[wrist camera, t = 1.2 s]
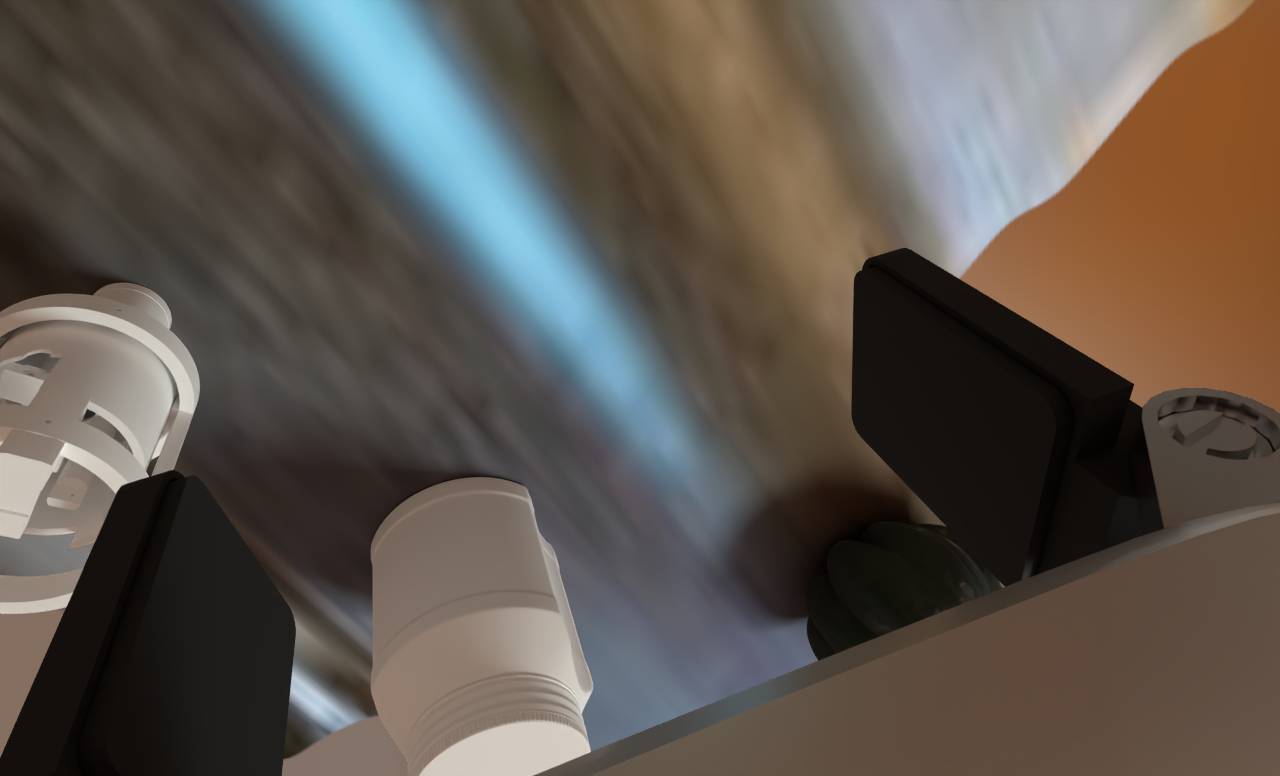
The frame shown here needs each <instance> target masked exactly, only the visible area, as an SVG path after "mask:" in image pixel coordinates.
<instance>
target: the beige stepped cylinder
mask: <svg viewBox="0 0 1280 776" xmlns="http://www.w3.org/2000/svg"><path fill="white" fill-rule="evenodd" d="M171 320H172V319H171V313H170V310H169V308H168V306H167V304H166V303H165V301H164V300H163V299H162V298H161V297H160V296H159V295H157V294H156V293H155V292H153V291H152V290H150V289H148V288H146V287H143V286H140V285H137V284H132V283H114V284H109V285H106V286H104V287H102V288H100V289H99V290H98V291H96V292H95V293H94V295H93V296H92V295H83V294H52V295H44V296H39V297H34V298H30V299H27V300H24V301H21V302H18V303H16V304H14V305H12V306H10V307H8V308H6V309H4V310H3V311H1V312H0V337H1V336H2V335H4V334H6V333H7V332H9V331H11V330H13V329H16V328H18V327H21V326H23V327H21V328H20V329H18V330H17V331H16V332H15V333H14V334H13V335H12V336H11V337H10V338H9V339H8V340H6V339H3V338H0V535H1V536H6V537H11V538H16V539H20V537H21V535H22V533H24V534H33V535H60V534H69V533H75V532H76V534H75V536H74V538H73V540H72V542H71V544H70V546H69V549H68V550H71V549H76V548H79V547H83V546H86V545H88V544H91V543H93V542H95V541H96V539H97V536H98V534H99V532H100V530H101V527H102V525H103V523H104V520H105V518H106V516H107V514H108V511H109V509H110V507H111V505H112V502H113V500H114V498H115V495H116V493H117V491H118V490H119V488H120V487H121V486H122V485H125V484H127V483H130V482H133V481H137V480H140V479H143V478H147V477H149V476H148V474H147V472H146V471H147V468H148V466H149V463H150V461H151V459H154V458H156V457H157V456H159V458H158V460H157V463H156V465H155V468H154V471H153V473H152V476H153V475H156V474H160V473H163V472H166V471H170V470H174V467H175V464H176V461H177V459H178V456H179V453H180V450H181V447H182V444H183V442H184V439H185V436H186V433H187V430H188V428H189V425H190V422H191V419H192V416H193V414H194V411H195V408H196V405H197V402H198V398H199V391H200V383H199V376H198V371H197V368H196V365H195V363H194V361H193V359H192V357H191V355H190V353H189V352H188V350H187V349H186V347H185V346H184V344H183V343H182V342H181V341H180V340H179V339H178V337H177V336H176V335H175V334H174V333H172V332H171V331H170V330H169V329H170V326H171ZM6 341H7V342H6ZM36 353H48V354H50V355H49V357H48V358H47V359H46V361H45V362H44V363H43V365H42V366H41V368H37V367H33V366H30V365H27V364H26V365H25V366H24V365H20V364H17V363H14V361H18V360H23V359H24V358H25V357H27V356H29V355H32V354H36ZM177 387H178V391H179V393H178V394H177ZM176 395H177V396H176ZM83 568H84V567H83ZM83 568H80V569H77V570H73V571H69V572H65V573H60V574H54V575H46V576H28V577H23V576H5V575H0V614H21V613H34V612H43V611H49V610H55V609H60V608H64V607H67V605H68V602H69V600H70V598H71V596H72V593H73V591H74V589H75V587H76V584H77V582H78V580H79V577H80V575H81V573H82V571H83Z"/></svg>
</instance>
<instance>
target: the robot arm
mask: <svg viewBox="0 0 1280 776" xmlns="http://www.w3.org/2000/svg"><path fill="white" fill-rule="evenodd" d="M1133 386H1134V384H1133V383H1131V382H1129V381H1128V380H1126V379H1124V378H1123V377H1121V376H1120V375H1118V374H1116V373H1114V372H1113V371H1111V370H1109V369H1108V368H1106V367H1104V366H1103V365H1101V364H1100V363H1098V362H1096V361H1095V360H1093V359H1091V358H1089V357H1088V356H1086V355H1085V354H1083V353H1081V352H1079V351H1078V350H1076V349H1075V348H1073V347H1071V346H1070V345H1068V344H1066V343H1065V342H1063V341H1061V340H1060V339H1058V338H1056V337H1055V336H1053V335H1051V334H1050V333H1048V332H1046V331H1044V330H1043V329H1041V328H1040V327H1038V326H1036V325H1035V324H1033V323H1031V322H1030V321H1028V320H1026V319H1025V318H1023V317H1021V316H1020V315H1018V314H1016V313H1015V312H1013V311H1011V310H1010V309H1008V308H1006V307H1005V306H1003V305H1002V304H1000V303H998V302H997V301H995V300H993V299H992V298H990V297H988V296H986V295H985V294H983V293H981V292H980V291H978V290H977V289H975V288H973V287H972V286H970V285H968V284H966V283H965V282H963V281H962V280H960V279H958V278H957V277H955V276H953V275H952V274H950V273H948V272H947V271H945V270H943V269H942V268H940V267H938V266H937V265H935V264H933V263H932V262H930V261H928V260H927V259H925V258H923V257H922V256H920V255H918V254H917V253H915V252H913V251H912V250H910V249H907V248H902V249H898V250H894V251H891V252H888V253H885V254H881V255H878V256H875V257H871V258H868V259H867V260H866V261H865V263H864V265H863V268H862V271H859V272H858V273H857V274H856V276H855V278H854V304H853V359H852V420H853V424H854V426H855V429H856V430H857V432H858V434H859V435H860V436H861V438H862V439H863V440H864V441H865V442H866V443H867V444H868V445H869V446H870V447H871V448H872V449H873V450H874V451H875V452H876V453H877V454H878V455H879V456H880V457H881V458H882V460H883V461H884V462H885V463H886V464H887V465H888V466H889V467H890V468H891V469H892V470H893V471H894V472H895V473H896V474H897V475H898V476H899V477H900V478H901V479H902V480H903V481H904V482H905V483H906V484H907V486H908V487H909V488H910V489H911V490H912V491H913V492H914V493H915V494H916V495H917V496H918V497H919V498H920V499H921V500H922V501H923V502H924V503H925V504H926V505H927V506H928V507H929V508H930V509H931V511H932V512H933V513H934V514H935V515H936V516H937V517H938V518H939V519H940V520H941V521H942V522H943V523H944V524H945V525H946V526H947V527H948V528H949V529H950V530H951V531H952V532H953V533H954V534H955V536H956V537H957V538H958V539H959V540H960V541H961V542H962V543H963V544H964V545H965V546H966V547H967V548H968V549H969V550H970V551H971V552H972V553H973V554H974V555H975V556H976V557H977V558H978V559H979V560H980V562H981V563H982V564H983V565H984V566H985V567H986V568H987V569H988V570H989V571H990V572H991V573H992V574H993V575H994V576H995V577H996V578H997V579H998V580H999V581H1000V582H1001V583H1002V584H1003V585H1004V586H1006V587H1004V588H1001V589H999V590H996V591H994V592H991V593H989V594H986V595H984V596H981V597H979V598H976V599H974V600H971V601H969V602H966V603H963V604H961V605H958V606H956V607H953V608H951V609H948V610H946V611H943V612H941V613H938V614H936V615H933V616H931V617H928V618H925V619H923V620H920V621H918V622H915V623H913V624H910V625H908V626H905V627H903V628H900V629H898V630H895V631H893V632H890V633H887V634H885V635H882V636H880V637H877V638H875V639H872V640H870V641H867V642H865V643H862V644H860V645H857V646H855V647H852V648H849V649H847V650H844V651H842V652H839V653H837V654H834V655H832V656H829V657H827V658H824V659H822V660H819V661H817V662H814V663H812V664H809V665H807V666H804V667H802V668H799V669H797V670H794V671H792V672H789V673H787V674H784V675H782V676H779V677H777V678H774V679H772V680H769V681H767V682H764V683H762V684H759V685H757V686H754V687H752V688H749V689H747V690H744V691H742V692H739V693H737V694H734V695H732V696H729V697H727V698H724V699H722V700H719V701H717V702H714V703H712V704H709V705H707V706H704V707H702V708H699V709H697V710H694V711H692V712H689V713H687V714H684V715H682V716H679V717H677V718H675V719H672V720H670V721H667V722H665V723H662V724H660V725H657V726H655V727H652V728H650V729H647V730H645V731H642V732H640V733H637V734H635V735H632V736H630V737H627V738H625V739H622V740H620V741H617V742H615V743H612V744H610V745H607V746H605V747H602V748H600V749H597V750H595V751H592V752H590V753H587V754H585V755H582V756H580V757H578V758H575V759H573V760H570V761H568V762H565V763H563V764H560V765H558V766H555V767H553V768H550V769H548V770H546V771H543V772H541V773H538V774H536V775H533V776H1280V413H1278V412H1277V411H1275V410H1274V409H1272V408H1270V407H1268V406H1266V405H1264V404H1262V403H1260V402H1258V401H1256V400H1254V399H1251V398H1248V397H1244V396H1241V395H1238V394H1234V393H1231V392H1227V391H1220V390H1213V389H1207V388H1181V389H1175V390H1169V391H1164V392H1162V393H1160V394H1158V395H1156V396H1154V397H1152V398H1150V399H1149V400H1148V402H1147V403H1146V404H1145V405H1144V406H1143V408H1142V407H1140V406H1139V405H1137V404H1135V403H1134V402H1132V401H1131V400H1130V396H1131V393H1132V390H1133ZM295 636H296V627H295V621H294V617H293V614H292V611H291V609H290V607H289V605H288V604H287V603H286V601H285V600H284V598H283V597H282V595H281V594H280V592H279V591H278V590H277V588H276V587H275V585H274V584H273V582H272V581H271V579H270V578H269V577H268V575H267V574H266V572H265V571H264V569H263V568H262V567H261V565H260V564H259V562H258V561H257V559H256V558H255V556H254V555H253V554H252V552H251V551H250V549H249V548H248V546H247V545H246V543H245V542H244V541H243V539H242V538H241V536H240V535H239V533H238V532H237V531H236V529H235V528H234V526H233V525H232V523H231V522H230V520H229V519H228V518H227V516H226V515H225V513H224V512H223V510H222V509H221V507H220V506H219V505H218V503H217V502H216V500H215V499H214V497H213V496H212V495H211V493H210V492H209V490H208V489H207V487H206V486H205V484H204V483H203V482H202V481H201V480H200V479H199V478H198V477H196V476H189V477H186V478H185V477H184V476H183V475H182V474H180V473H179V472H177V471H174V470H170V471H166V472H163V473H160V474H156V475H153V476H150V477H147V478H143V479H140V480H137V481H133V482H130V483H127V484H125V485H122V486H121V487H120V488H119V490H118V491H117V493H116V495H115V498H114V500H113V502H112V505H111V507H110V509H109V511H108V514H107V516H106V518H105V520H104V523H103V525H102V527H101V530H100V532H99V534H98V536H97V539H96V541H95V543H94V546H93V548H92V550H91V552H90V555H89V557H88V559H87V561H86V564H85V566H84V568H83V571H82V573H81V575H80V577H79V580H78V582H77V584H76V587H75V589H74V591H73V593H72V596H71V598H70V600H69V602H68V605H67V607H66V609H65V612H64V614H63V616H62V618H61V621H60V623H59V625H58V628H57V630H56V632H55V634H54V637H53V639H52V641H51V643H50V646H49V648H48V650H47V653H46V655H45V657H44V659H43V662H42V664H41V666H40V669H39V671H38V673H37V675H36V678H35V680H34V682H33V685H32V687H31V689H30V691H29V694H28V696H27V698H26V701H25V703H24V705H23V707H22V709H21V712H20V714H19V716H18V719H17V721H16V723H15V725H14V728H13V730H12V733H11V735H10V737H9V739H8V741H7V744H6V746H5V748H4V751H3V753H2V755H1V757H0V776H282V765H283V756H284V746H285V736H286V726H287V716H288V706H289V696H290V686H291V676H292V666H293V656H294V646H295Z"/></svg>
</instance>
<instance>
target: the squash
mask: <svg viewBox="0 0 1280 776" xmlns="http://www.w3.org/2000/svg"><path fill="white" fill-rule="evenodd" d="M827 569H828V574H825V575H823V576H820V577H819V578H817V579H816V580H815V581H814V582H813V583H812V584H811V586H810V588H809V590H808V593H807V596H806V598H807V604H808V609H809V617H808V622H807V636H808V639H809V643H810V645H811V648H812V650H813V652H814V654H815V656H816V657H817V659H818V661H819V660H822V659H824V658H827V657H829V656H832V655H834V654H837V653H839V652H842V651H844V650H847V649H849V648H852V647H855V646H857V645H860V644H862V643H865V642H867V641H870V640H872V639H875V638H877V637H880V636H882V635H885V634H887V633H890V632H893V631H895V630H898V629H900V628H903V627H905V626H908V625H910V624H913V623H915V622H918V621H920V620H923V619H925V618H928V617H931V616H933V615H936V614H938V613H941V612H943V611H946V610H948V609H951V608H953V607H956V606H958V605H961V604H963V603H966V602H969V601H971V600H974V599H976V598H979V597H981V596H984V595H986V594H989V593H991V592H994V591H996V590H999V589H1001V588H1002V586H1001V585H1000V582H999V580H998V579H997V578H996V577H995V576H994V575H993V574H992V573H991V572H990V571H989V570H988V569H987V568H986V567H985V566H984V565H983V564H982V563H981V562H980V560H979V559H978V558H977V557H976V556H975V555H974V554H973V553H972V552H971V551H970V550H969V549H968V548H967V547H966V546H965V545H964V544H963V543H962V542H961V541H960V540H959V539H958V538H957V537H956V536H955V534H954V533H953V532H952V531H951V530H950V529H949V528H948V527H945V526H940V525H933V524H917V525H910V524H906V523H902V522H896V521H881V522H876V523H874V524H872V525H870V526H869V527H868V528H867V529H866V530H864V532H863V534H862V536H861V538H860V541H853V540H843V541H839V542H838V543H837V544H835V545H834V546H833V547H832V548H831V549H830V551H829V553H828V558H827Z"/></svg>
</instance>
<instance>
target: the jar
mask: <svg viewBox="0 0 1280 776" xmlns="http://www.w3.org/2000/svg"><path fill="white" fill-rule="evenodd" d="M371 562H372V567H373V669H372V672H371V693H372V696H373V699H374V703H375V706H376V709H377V712H378V715H379V718H380V720H381V722H382V724H383V725H384V726H385V728H386V729H387V731H388V733H389V734H390V736H391V738H392V739H393V741H394V742H395V744H396V745H397V747H398V748H399V750H400V751H401V753H402V754H403V755H404V757H405V758H406V759H407V764H408V776H533V775H536V774H538V773H541V772H543V771H546V770H548V769H550V768H553V767H555V766H558V765H560V764H563V763H565V762H568V761H570V760H573V759H575V758H578V757H580V756H582V755H585V754H587V753H590V752H591V751H590V745H589V741H588V737H587V732H586V728H585V725H584V721H583V717H582V712H583V709H584V707H585V705H586V703H587V701H588V699H589V697H590V694H591V693H592V690H593V682H592V678H591V675H590V671H589V668H588V666H587V664H586V662H585V659H584V655H583V652H582V648H581V645H580V641H579V638H578V635H577V631H576V628H575V624H574V621H573V617H572V614H571V610H570V607H569V603H568V600H567V596H566V593H565V590H564V586H563V583H562V579H561V576H560V572H559V565H558V561H557V558H556V555H555V552H554V550H553V548H552V546H551V544H550V543H548V542H547V541H546V540H545V539H544V538H543V536H542V535H541V534H540V532H539V530H538V527H537V523H536V520H535V516H534V508H533V504H532V501H531V498H530V495H529V493H528V491H527V489H526V487H525V486H523V485H520V484H518V483H515V482H512V481H508V480H504V479H498V478H489V477H471V478H461V479H455V480H451V481H447V482H443V483H440V484H437V485H434V486H431V487H429V488H426V489H424V490H422V491H420V492H418V493H416V494H415V495H413V496H411V497H410V498H408V499H407V500H405V501H404V502H402V503H401V504H400V505H399V506H397V507H396V508H395V509H394V510H393V511H392V512H391V513H390V514H389V515H388V516H387V517H386V518H385V520H384V521H383V522H382V524H381V525H380V527H379V528H378V530H377V532H376V534H375V536H374V538H373V541H372V544H371Z"/></svg>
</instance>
